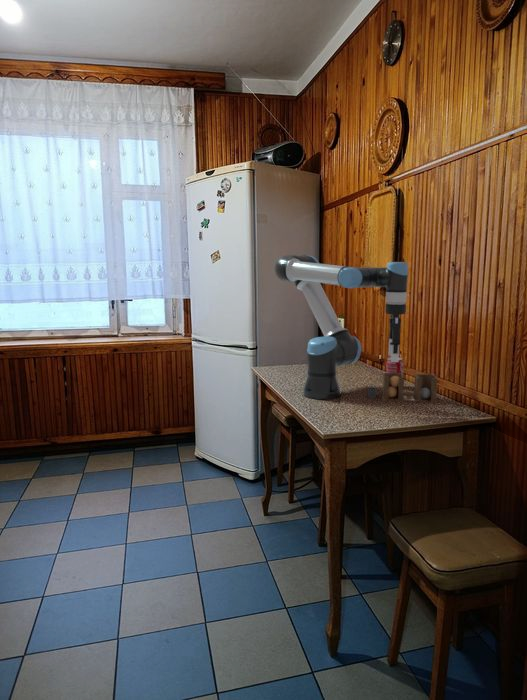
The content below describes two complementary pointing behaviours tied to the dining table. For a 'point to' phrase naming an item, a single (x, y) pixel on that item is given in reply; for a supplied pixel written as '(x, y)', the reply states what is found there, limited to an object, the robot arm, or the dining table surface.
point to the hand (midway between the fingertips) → (393, 358)
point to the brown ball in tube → (392, 392)
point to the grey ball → (425, 393)
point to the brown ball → (394, 381)
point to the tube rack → (420, 382)
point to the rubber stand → (371, 392)
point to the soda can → (394, 366)
